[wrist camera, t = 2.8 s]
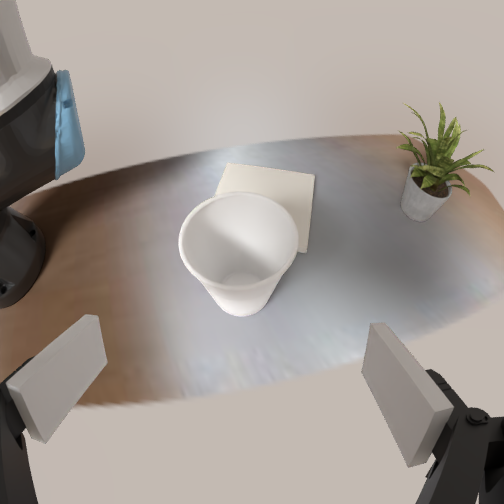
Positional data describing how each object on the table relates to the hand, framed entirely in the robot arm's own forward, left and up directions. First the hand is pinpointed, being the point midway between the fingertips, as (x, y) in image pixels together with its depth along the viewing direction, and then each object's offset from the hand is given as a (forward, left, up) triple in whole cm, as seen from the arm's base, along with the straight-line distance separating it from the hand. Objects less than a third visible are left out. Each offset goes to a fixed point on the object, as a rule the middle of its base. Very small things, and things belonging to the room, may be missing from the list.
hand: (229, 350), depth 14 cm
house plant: (+20, +30, -18) cm, 40 cm away
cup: (-2, +11, -18) cm, 21 cm away
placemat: (-2, +24, -18) cm, 30 cm away
